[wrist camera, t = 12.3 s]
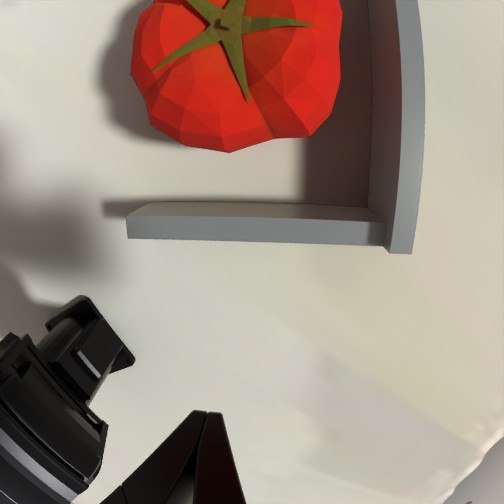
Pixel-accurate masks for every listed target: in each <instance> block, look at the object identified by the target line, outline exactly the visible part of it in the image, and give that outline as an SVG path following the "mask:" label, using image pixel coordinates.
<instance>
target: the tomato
mask: <svg viewBox="0 0 504 504" xmlns="http://www.w3.org/2000/svg"><path fill="white" fill-rule="evenodd" d="M342 17H343V13H342V9H341V5H340V2H339V0H154V2H153V4H152V5H151V6H150V7H148V8H147V9H146V10H145V11H144V12H143V13H141V14H140V17H139V21H138V24H137V28H136V31H135V35H134V42H133V51H132V61H131V73H130V74H131V76H132V77H133V79H134V81H135V83H136V85H137V86H138V88H139V90H140V92H141V94H142V96H143V97H144V99H145V101H146V106H147V111H148V116H149V122H150V124H151V125H152V126H154V127H155V128H156V129H158V130H160V131H161V132H163V133H165V134H167V135H168V136H170V137H172V138H174V139H175V140H177V141H179V142H180V143H182V144H184V145H186V146H190V147H197V148H203V149H209V150H215V151H221V152H227V153H231V152H234V151H237V150H240V149H243V148H246V147H249V146H252V145H256V144H259V143H262V142H265V141H269V140H272V139H278V138H300V137H310V136H311V135H312V134H313V133H314V132H315V131H316V130H317V129H318V128H319V126H320V125H321V124H322V123H323V122H324V121H325V120H326V119H327V118H328V117H329V115H330V114H331V111H332V108H333V105H334V101H335V98H336V95H337V91H338V88H339V84H340V79H341V74H340V55H339V40H340V33H341V25H342Z"/></svg>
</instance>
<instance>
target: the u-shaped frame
mask: <svg viewBox="0 0 504 504" xmlns="http://www.w3.org/2000/svg"><path fill="white" fill-rule="evenodd" d="M368 10H369V21H370V36H371V55H372V140H371V161H370V177H369V190H368V202H367V208H366V207H350V206H332V205H312V204H287V203H253V202H149V203H148V204H146V205H144V206H142V207H141V208H139V209H137V210H135V211H134V212H132V213H130V214H128V215H127V216H126V226H127V235H128V239H172V240H211V241H246V242H278V243H307V244H335V245H361V246H383V247H384V248H385V249H386V250H387V251H388V252H389V253H392V254H412V249H413V243H414V237H415V230H416V223H417V216H418V209H419V200H420V191H421V181H422V170H423V156H424V137H425V75H424V57H423V44H422V33H421V24H420V16H419V8H418V2H417V0H368Z"/></svg>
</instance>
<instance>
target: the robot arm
mask: <svg viewBox="0 0 504 504" xmlns="http://www.w3.org/2000/svg"><path fill="white" fill-rule="evenodd" d="M85 303H86V304H87V306H86V305H85ZM45 326H46V328H47V330H48V331H49V333H48V334H47V335H46V336H45V337H44V338H43V339H42V340H41V341H40V342H39V343H38V344H37V345H36V346H35V345H34V344H33V342H32V339H31V338H30V336H29V335H28V334H26V335H24V336H23V337H21V338H19V336H16V335H14V334H12V333H11V332H10V333H9V334H8V335H7V336H6V337H5V338H3V339H2V340H1V341H0V504H70V503H71V502H72V501H73V500H74V499H75V498H76V497H77V496H78V495H79V494H81V493H82V492H84V491H85V490H86V489H88V487H89V484H91V483H92V481H93V480H94V479H95V478H96V476H97V475H98V473H99V471H100V469H101V465H102V459H103V453H104V448H105V442H106V437H107V431H108V426H109V425H108V424H107V423H106V422H104V421H103V420H101V419H100V418H99V417H98V416H97V415H96V414H95V413H94V412H93V411H92V410H91V409H90V408H89V407H88V406H89V405H90V403H91V401H92V400H93V398H94V396H95V395H96V393H97V391H98V390H99V388H100V387H101V385H102V383H103V382H104V380H105V379H106V377H107V375H108V374H110V373H113V372H116V371H119V370H121V369H124V368H127V367H130V366H132V365H133V364H134V363H135V357H134V356H133V355H132V353H131V352H130V351H129V350H128V349H127V347H126V346H125V345H124V344H123V342H122V341H121V340H120V339H119V337H118V336H117V335H116V334H115V332H114V331H113V330H112V328H111V327H110V326H109V324H108V323H107V322H106V320H105V319H104V318H103V316H102V315H101V314H100V312H99V311H98V310H97V308H96V307H95V305H94V304H93V303H92V301H91V300H90V299H89V298H83V299H81V300H80V301H78V302H77V303H75V304H73V305H72V306H70V307H69V308H67V309H66V310H64V311H63V312H61V313H60V314H58V315H56V316H55V317H53V318H52V319H50V320H49V321H48V322H47V323H46V324H45ZM128 359H129V360H128ZM100 504H246V501H245V498H244V494H243V491H242V487H241V484H240V480H239V477H238V473H237V469H236V466H235V462H234V458H233V454H232V451H231V447H230V443H229V439H228V435H227V431H226V427H225V423H224V419H223V415H222V413H219V412H208V413H207V412H206V411H200V410H194V411H192V412H191V413H190V414H189V415H188V416H187V417H186V418H185V420H184V421H183V422H182V423H181V424H180V425H179V426H178V427H177V428H176V429H175V430H174V431H173V432H172V433H171V434H170V435H169V437H168V438H167V439H166V440H165V441H164V442H163V443H162V444H161V445H160V446H159V447H158V448H157V449H156V450H155V451H154V452H153V453H152V454H151V455H150V456H149V457H148V458H147V459H146V460H145V461H144V462H143V463H142V464H141V465H140V466H139V467H138V468H137V469H136V470H135V471H134V472H133V473H132V474H131V475H130V476H129V477H128V478H127V479H126V480H125V481H124V482H123V483H122V486H121V485H120V486H119V487H118V488H117V489H115V490H114V491H113V492H112V493H111V494H110V495H109V496H108V497H107V498H106V499H104V500H103V501H102V502H101V503H100Z"/></svg>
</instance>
